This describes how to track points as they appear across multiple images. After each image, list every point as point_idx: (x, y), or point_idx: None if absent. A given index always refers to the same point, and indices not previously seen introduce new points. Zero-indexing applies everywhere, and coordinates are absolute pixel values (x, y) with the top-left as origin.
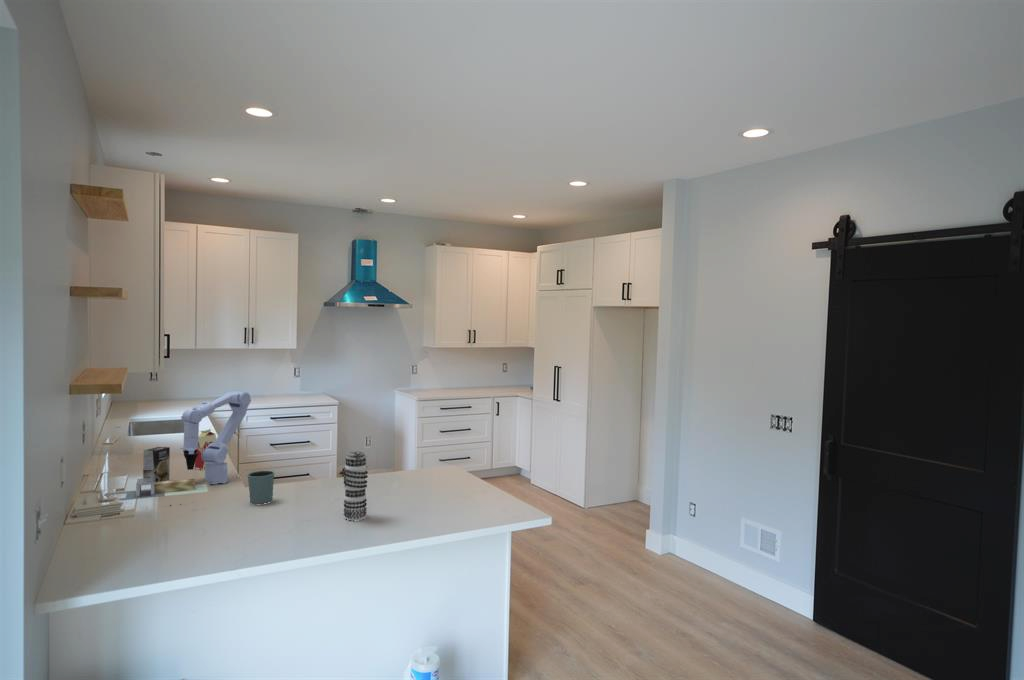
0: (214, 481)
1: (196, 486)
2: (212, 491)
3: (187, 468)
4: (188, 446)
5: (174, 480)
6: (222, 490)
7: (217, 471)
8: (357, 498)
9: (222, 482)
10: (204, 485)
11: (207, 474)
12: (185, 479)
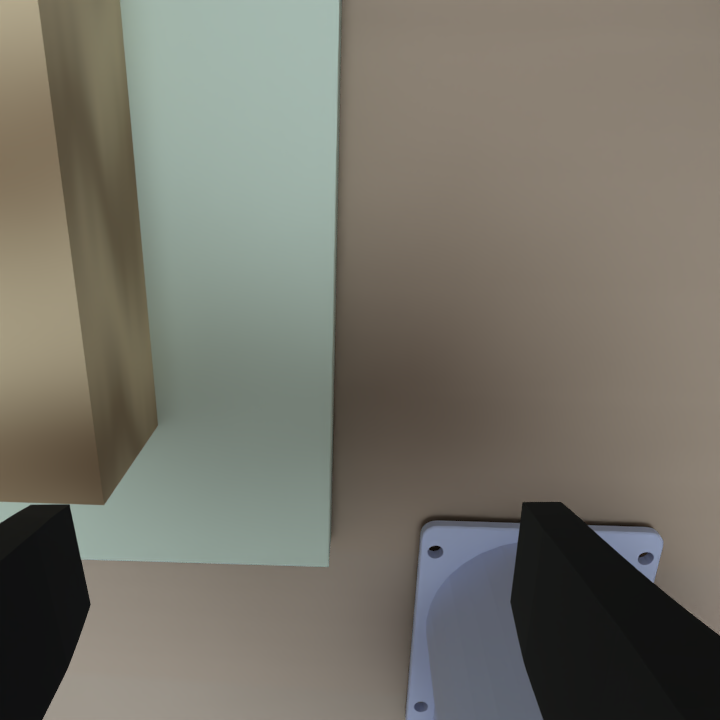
0: (429, 644)
1: (227, 448)
2: (89, 575)
3: (5, 520)
4: None
5: (49, 147)
6: (101, 661)
7: None
8: None
9: (419, 696)
10: (243, 537)
11: (491, 658)
12: (81, 358)
